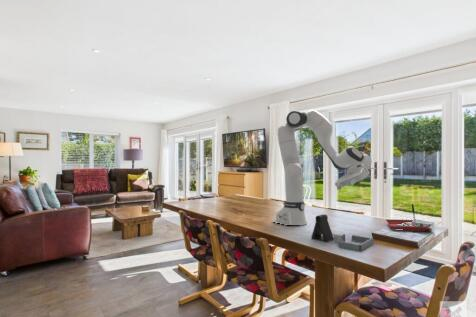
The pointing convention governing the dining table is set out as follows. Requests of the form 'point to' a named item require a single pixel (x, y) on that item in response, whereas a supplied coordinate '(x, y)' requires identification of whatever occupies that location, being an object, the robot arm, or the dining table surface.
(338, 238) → the grey cube
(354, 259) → the dining table surface
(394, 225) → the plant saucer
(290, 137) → the robot arm
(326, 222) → the black a-shaped stand
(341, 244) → the tray
